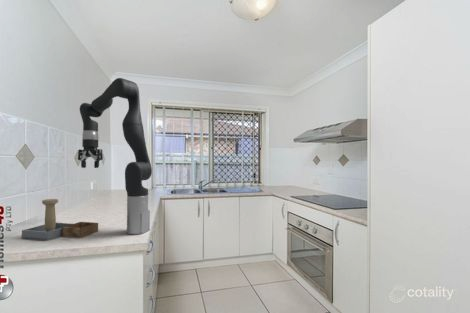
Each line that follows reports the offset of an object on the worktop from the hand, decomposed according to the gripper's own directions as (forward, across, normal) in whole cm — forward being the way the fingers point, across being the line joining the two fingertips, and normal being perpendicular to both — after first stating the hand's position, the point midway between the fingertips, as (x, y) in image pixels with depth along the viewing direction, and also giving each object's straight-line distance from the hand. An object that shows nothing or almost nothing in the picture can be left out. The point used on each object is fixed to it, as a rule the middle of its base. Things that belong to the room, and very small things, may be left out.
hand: (90, 167), depth 122 cm
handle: (+30, +2, -22) cm, 37 cm away
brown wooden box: (+30, +14, -18) cm, 38 cm away
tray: (+30, +2, -22) cm, 37 cm away
